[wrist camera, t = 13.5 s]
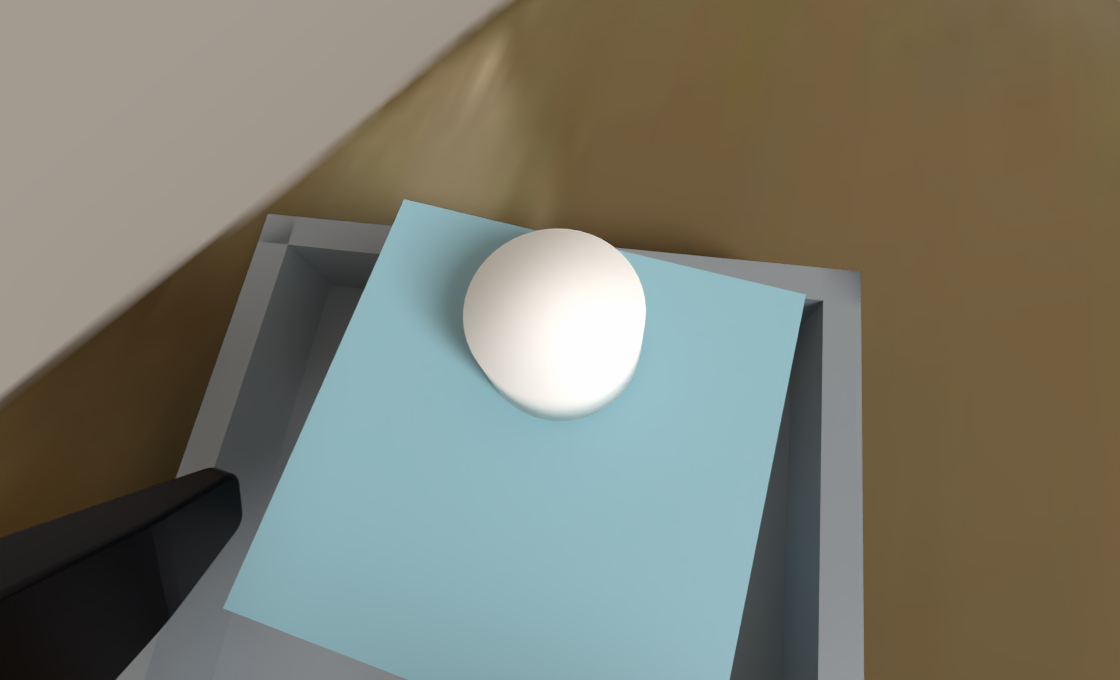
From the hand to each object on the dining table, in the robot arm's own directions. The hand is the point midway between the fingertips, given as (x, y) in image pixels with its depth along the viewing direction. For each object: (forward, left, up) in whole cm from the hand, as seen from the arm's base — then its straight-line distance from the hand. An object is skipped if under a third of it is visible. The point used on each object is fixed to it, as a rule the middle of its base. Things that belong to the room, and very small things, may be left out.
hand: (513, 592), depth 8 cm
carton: (+2, 0, -10) cm, 10 cm away
